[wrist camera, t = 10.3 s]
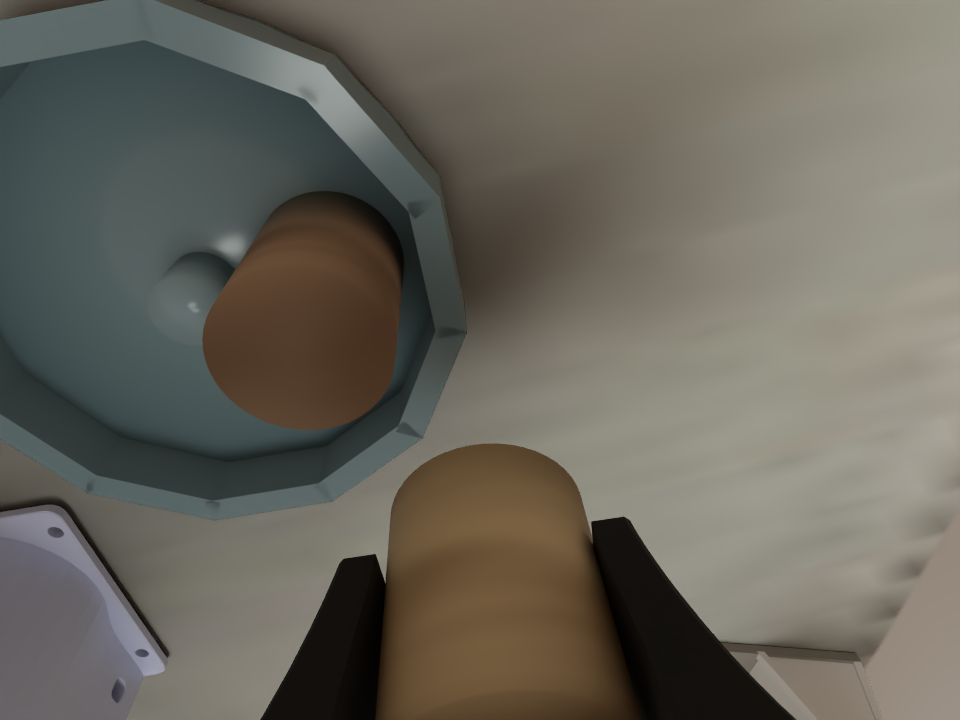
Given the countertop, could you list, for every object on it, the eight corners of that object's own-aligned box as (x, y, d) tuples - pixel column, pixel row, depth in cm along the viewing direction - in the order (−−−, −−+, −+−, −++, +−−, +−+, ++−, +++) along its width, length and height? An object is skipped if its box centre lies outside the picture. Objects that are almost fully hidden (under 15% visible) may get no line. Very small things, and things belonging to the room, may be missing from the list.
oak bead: (590, 567, 15) (654, 816, 10) (414, 596, 15) (407, 854, 11) (572, 427, 13) (644, 668, 8) (368, 463, 13) (335, 717, 8)
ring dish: (489, 427, 22) (495, 475, 20) (91, 493, 23) (57, 545, 21) (396, -54, 15) (390, -55, 13) (-190, 57, 15) (-285, 74, 13)
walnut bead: (417, 312, 19) (412, 414, 15) (284, 335, 19) (241, 442, 15) (385, 178, 17) (369, 252, 13) (236, 205, 17) (170, 287, 13)
